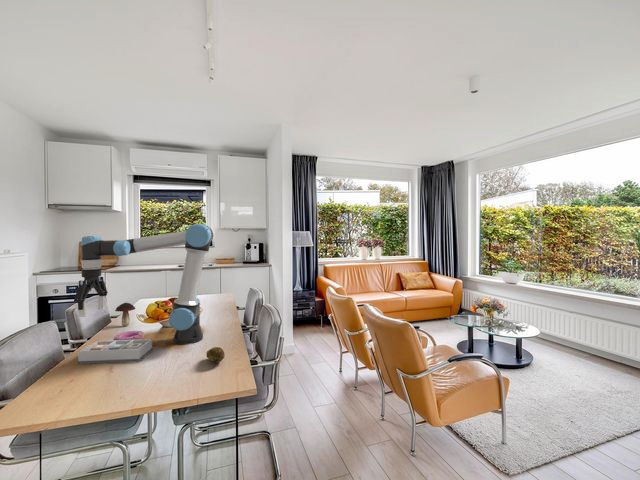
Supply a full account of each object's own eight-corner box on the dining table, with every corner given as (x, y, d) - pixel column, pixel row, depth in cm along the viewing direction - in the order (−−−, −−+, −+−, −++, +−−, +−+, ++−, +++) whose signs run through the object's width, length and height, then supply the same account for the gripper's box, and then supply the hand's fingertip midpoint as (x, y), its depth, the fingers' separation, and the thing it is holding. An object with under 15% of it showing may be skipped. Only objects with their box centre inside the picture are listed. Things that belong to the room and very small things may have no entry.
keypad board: (152, 350, 151) (152, 339, 151) (139, 361, 137) (139, 349, 137) (97, 352, 148) (97, 340, 148) (77, 364, 134) (77, 351, 134)
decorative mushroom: (139, 324, 194) (139, 301, 194) (125, 329, 184) (124, 305, 184) (125, 323, 197) (125, 300, 197) (110, 328, 186) (110, 304, 186)
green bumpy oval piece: (225, 356, 143) (225, 339, 143) (224, 367, 131) (224, 349, 131) (206, 358, 141) (206, 341, 141) (204, 370, 128) (204, 351, 128)
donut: (107, 349, 152) (107, 339, 152) (120, 339, 166) (120, 330, 166) (138, 347, 155) (138, 337, 155) (148, 338, 169) (148, 329, 169)
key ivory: (142, 348, 146) (142, 342, 146) (138, 351, 141) (138, 346, 141) (132, 348, 145) (132, 343, 145) (127, 352, 140) (127, 346, 140)
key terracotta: (107, 349, 144) (107, 344, 144) (101, 353, 139) (101, 347, 139) (97, 349, 143) (97, 344, 143) (90, 353, 139) (90, 348, 139)
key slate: (125, 348, 145) (125, 343, 145) (119, 352, 140) (119, 347, 140) (114, 349, 144) (114, 343, 144) (109, 352, 140) (109, 347, 139)
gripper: (99, 266, 155) (100, 306, 155) (63, 271, 130) (63, 320, 130) (115, 265, 156) (115, 306, 156) (81, 271, 131) (82, 319, 131)
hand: (92, 312), depth 143 cm, fingers open, 13 cm apart
